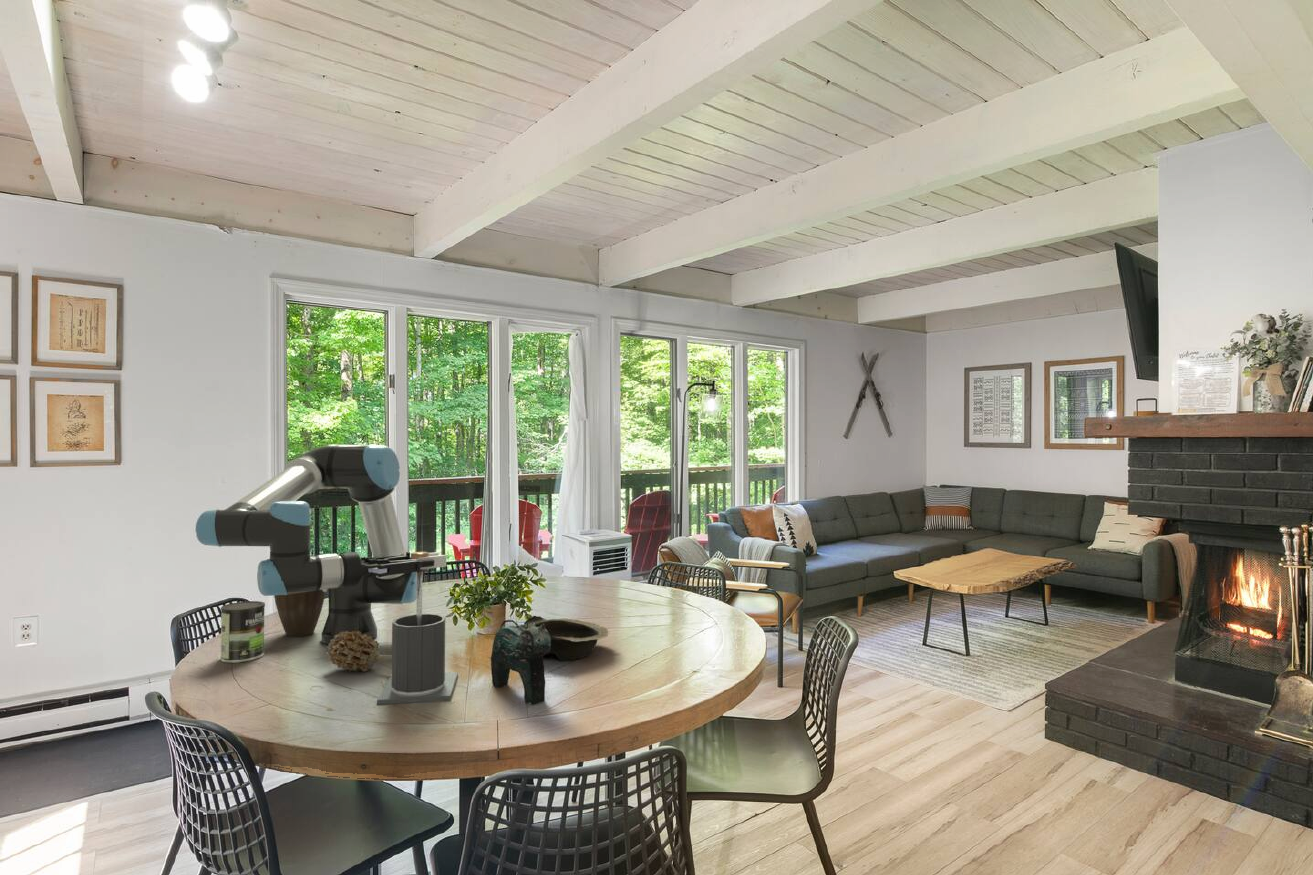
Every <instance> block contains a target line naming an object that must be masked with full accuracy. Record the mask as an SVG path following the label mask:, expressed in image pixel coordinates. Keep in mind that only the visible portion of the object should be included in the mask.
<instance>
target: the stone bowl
mask: <svg viewBox="0 0 1313 875" xmlns="http://www.w3.org/2000/svg"><path fill="white" fill-rule="evenodd" d="M534 622H535V626H536V627H540V626H541V625H542V624H545V629H546V630H547V631H548V633H549V635H550V638H551V649H550V651H549V652H548V653H546V654H544V655H543V657H544V656H547V655H552V654H555V655H556V657H557V658H558V659H559V660H560V661H565V662H569V661H570V662H571V661H573V660H580V659H582V658H584V657H586V656H587V655H591V654H592V653H593V651H594V649H595V648H596V646H597V643H598V640H601V639H604V638H607V637H608V636H609V630H608V628H606V627H605V626H600V624H597V623H595V622H594V623H593V622H588V621H584V620H583V621H582V620H579V619H571V618H552V619H546V618H543V617H542V616H538V615H537V616H536V615H533V616H531V617H529V616H528V628H531V626H532V624H533V623H534ZM518 625H519V624H518ZM519 626H521V627H524V628H525V629H526V628H527V619H526V620H525V621H524V623H523V624H521V625H519Z"/></svg>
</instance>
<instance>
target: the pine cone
mask: <svg viewBox="0 0 1313 875" xmlns="http://www.w3.org/2000/svg"><path fill="white" fill-rule="evenodd" d="M330 641H331V643H330V644H328V645H327V646H326V648H327V650H328V651H327V652H326V656H328V658H327V660H328V661H330V662H331V664H332V665H337V668H338V669H341V670H346V669H348V670H349V671H355V672H357V671H362V672H367V671H368V670H370V668H371V667H372V666H373V664H374V663H375V664H376V663H377V662H380V661H392V654H387V655H386V654H383V655H382V654H381V653H380V652H379V646H380V644H379V643H380V642H378V640H375V639H372V637H371V636H367V635H366V634H364V635H362V634H361V632H360V631H358V632H356V631H352V632H348V631H345V632H340V633H339V635H335V636H334V639H332V640H330Z"/></svg>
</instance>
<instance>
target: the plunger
mask: <svg viewBox="0 0 1313 875" xmlns="http://www.w3.org/2000/svg"><path fill="white" fill-rule="evenodd" d="M429 553H430V552H428V551H415V552H410V556H411V559H418V558H420V557H429ZM422 571H423V572H426V571H429V569H421V570H420V573H417V599H416V614H417V625H416V626H422V614H423V578H422Z"/></svg>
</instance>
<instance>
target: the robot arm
mask: <svg viewBox="0 0 1313 875" xmlns="http://www.w3.org/2000/svg"><path fill="white" fill-rule="evenodd" d="M400 474H401V473H400V463H399V458H398V457H397V454H396V452H395V450H393V449H392V448H391V447H389V446H387V445H382V444H381V445H378V444H375V443H373V444H372V443H370V444H339V443H338V444H335V443H334V444H327V445H322V446H319V447H316V448H313V449H311V450H309V451H306V452H304V453H302V454H300V455H298V456H296V457H294V458H292V460H290V461H288V463H286V464H285V467H284V468H283V470H282V471H281V472H279V473H278V474H277V475H275V476H274V477H271V479H269V480H267V481H266V482H264V483H263V484H262V485H260V486H259V487H257V488H255V489H254V490H252V491H251V492H250V493H248V494H247V495H245V496H244V497H242V498H240V499H239V500H238V501H236V502H234V503H233V504H232V505H230V506H228V507H227V508H226V509H219V508H217V509H213V510H205V511H203V512H202V513H201V514H200V515H199V517H198V518H197V520H196V523H195V533H196V539H197V540H198V542H200V544H202V545H204V546H212V547H219V548H221V547H269V558H267V559H266V560H261V561H260V562H259V563H258V566H257V575H256V580H257V588H258V592H259V593H260V594H261V595H263V596H264V597H269V596H274V595H288V594H294V593H301V592H308V591H317V590H323V592H326V593H327V592H328V614H327V618H326V620H325V624H324V626H323V629H322V632H321V643H323V644H326V645H329V644H330V643H331V641H330V640H332V639H334V636H335V635H339V633H340V632H345V631H348V632H352V631H356V632H358V631H360V632H361V634H362V635H364V634H366V635H367V636H371V637H372V639H373V640H375V638H377V636H378V627H377V623H376V620H375V617H374V616H373V612H372V604H393V605H394V604H395V605H403V604H413V603H414V602H416V601H417V573H420V570H421V569H438V568H446V567H447V555H446V554H439V552H438V551H436V552H428V553H429V557H420V558H418V559H411V552H410V551H405V547H404V543H403V540H402V535H401V531H400V527H399V523H398V518H397V515H396V514H397V513H396V510H395V506H394V502H393V497H392V493H393V492H394V491H395V489H396V488H395V487H396V486H397V485H398V483H399V481H400V476H401V475H400ZM320 489H347V491H348V494H349V497H350V498H351V499H352V500H353V501H355V502H357V503H358V507H359V511H360V514H361V518H362V521H363V525H364V529H365V534H366V536H367V540H368V543H369V547H370V551H371V554H372V557H370V556H368V557H367V556H366V557H365V556H362V557H361V556H360V554H359V553H358V552H356V551H350V552H340V553H339V554H337V553H327V554H317V555H311V525H312V520H311V506H310V504H309V503H308V502H307V501H304V500H299V499H300V498H301V497H303V496H304V495H310V494H312V493H314V492H316V491H317V490H320ZM423 576H424V571H422V579H423Z"/></svg>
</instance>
